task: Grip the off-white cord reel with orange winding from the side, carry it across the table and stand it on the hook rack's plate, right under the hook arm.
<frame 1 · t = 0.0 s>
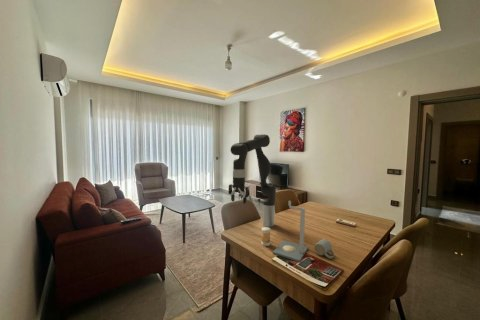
hand: (238, 202, 124), 29 cm above the table, tool pointing down, fingers open, 8 cm apart
hook rack: (290, 251, 123), on the table
ceramic mug: (324, 254, 120), on the table
cord reel: (265, 243, 132), on the table
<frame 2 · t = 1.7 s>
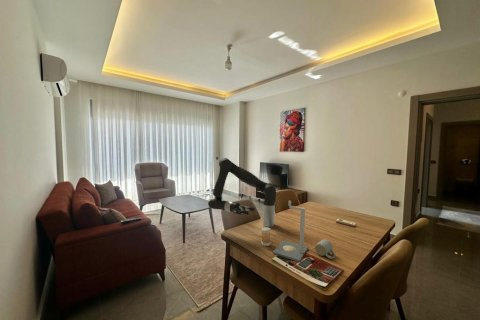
hand: (251, 211, 137), 20 cm above the table, tool horizontal, fingers open, 8 cm apart
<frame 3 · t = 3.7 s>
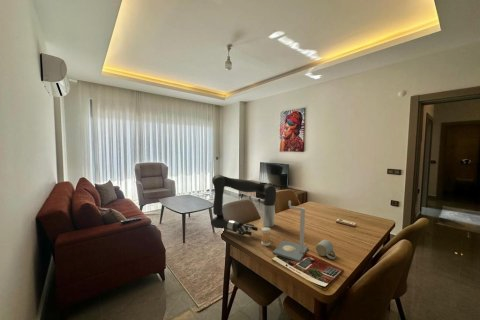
hand: (254, 231, 136), 6 cm above the table, tool horizontal, fingers open, 8 cm apart
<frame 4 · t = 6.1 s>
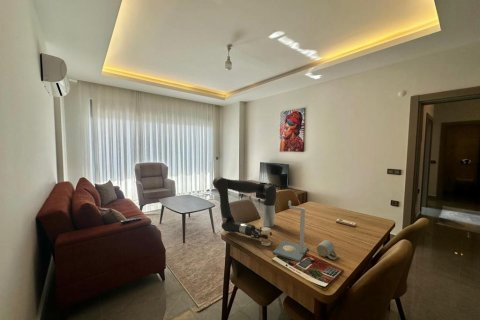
hand: (269, 235, 130), 6 cm above the table, tool horizontal, fingers closed on cord reel, 5 cm apart
cord reel: (265, 243, 132), on the table, touching gripper
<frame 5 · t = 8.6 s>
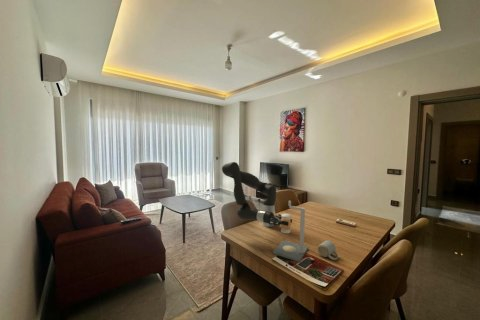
hand: (290, 222, 121), 18 cm above the table, tool horizontal, fingers closed on cord reel, 5 cm apart
cord reel: (285, 231, 123), point 12 cm above the table, touching gripper
when the fingers open (9 cm above the table, at t = 11.0 s): cord reel drops 1 cm, resting on hook rack.
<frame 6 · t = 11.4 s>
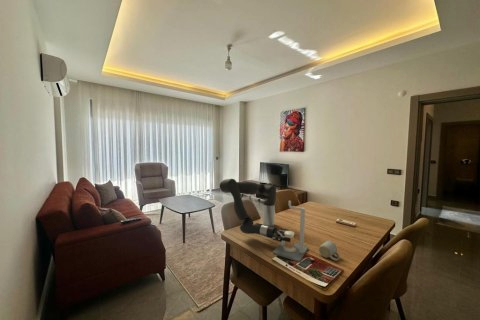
hand: (292, 237, 122), 9 cm above the table, tool horizontal, fingers open, 8 cm apart
cord reel: (289, 248, 123), point 1 cm above the table, touching hook rack
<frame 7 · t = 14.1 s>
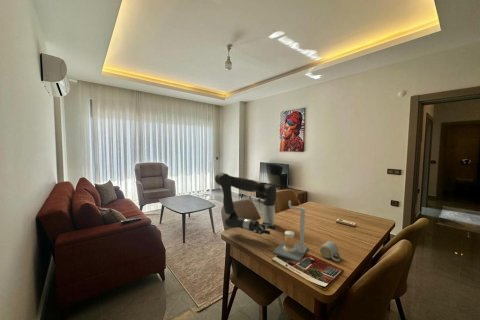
hand: (272, 230, 129), 10 cm above the table, tool horizontal, fingers open, 8 cm apart
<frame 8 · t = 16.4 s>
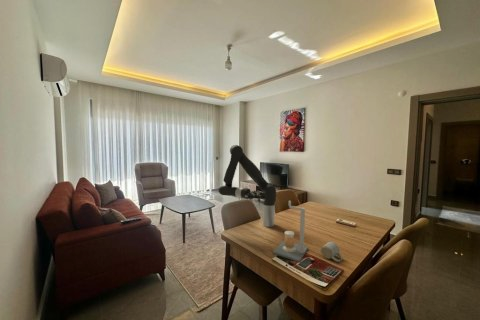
hand: (263, 196, 137), 30 cm above the table, tool horizontal, fingers open, 8 cm apart
at the end: cord reel inside the target area on the hook rack (0.1 cm from its centre), point 1.3 cm above the hook rack's base; cord reel tilted 0°; the gripper is holding nothing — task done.
